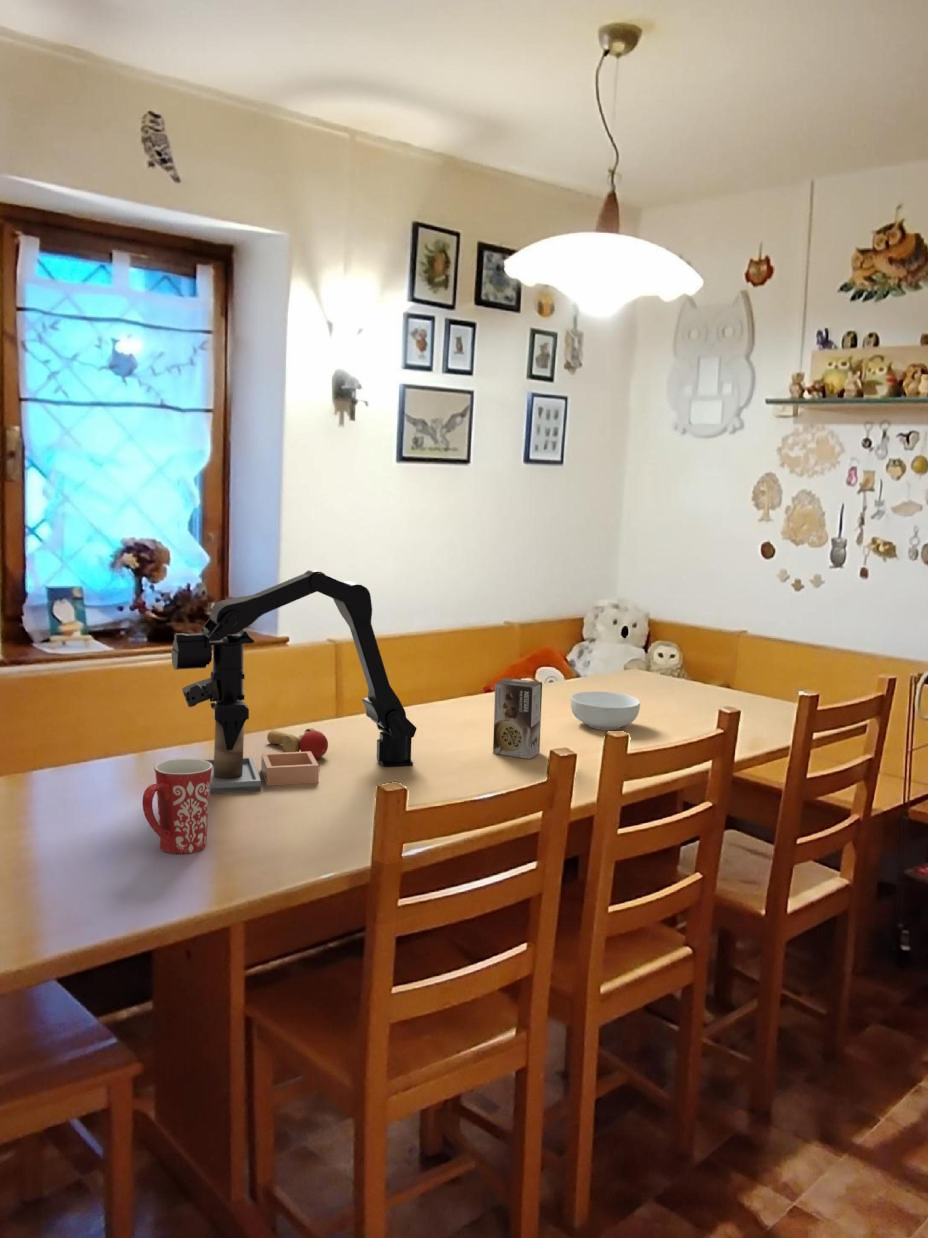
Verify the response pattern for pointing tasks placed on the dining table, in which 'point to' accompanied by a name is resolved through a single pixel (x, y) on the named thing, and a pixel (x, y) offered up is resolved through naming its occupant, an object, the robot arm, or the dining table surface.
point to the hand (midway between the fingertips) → (228, 745)
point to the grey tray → (236, 779)
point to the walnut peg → (227, 755)
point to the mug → (180, 804)
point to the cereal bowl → (604, 709)
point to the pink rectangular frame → (289, 768)
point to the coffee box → (517, 718)
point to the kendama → (301, 742)
